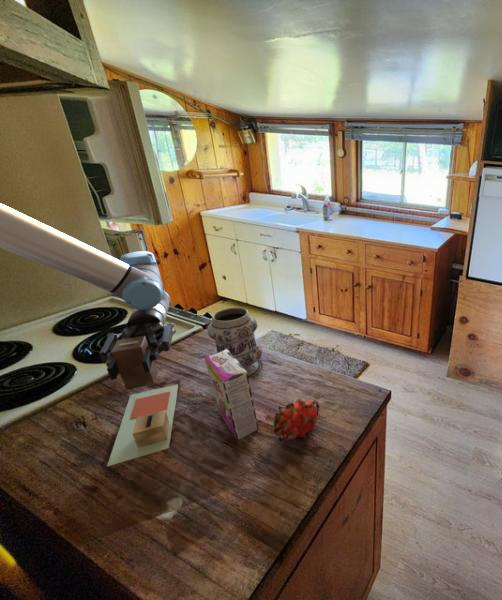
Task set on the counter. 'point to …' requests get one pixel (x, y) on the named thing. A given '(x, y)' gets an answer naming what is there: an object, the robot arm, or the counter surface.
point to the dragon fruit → (296, 419)
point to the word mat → (136, 407)
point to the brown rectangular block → (133, 362)
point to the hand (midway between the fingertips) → (129, 370)
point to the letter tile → (151, 428)
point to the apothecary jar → (237, 337)
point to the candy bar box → (232, 393)
